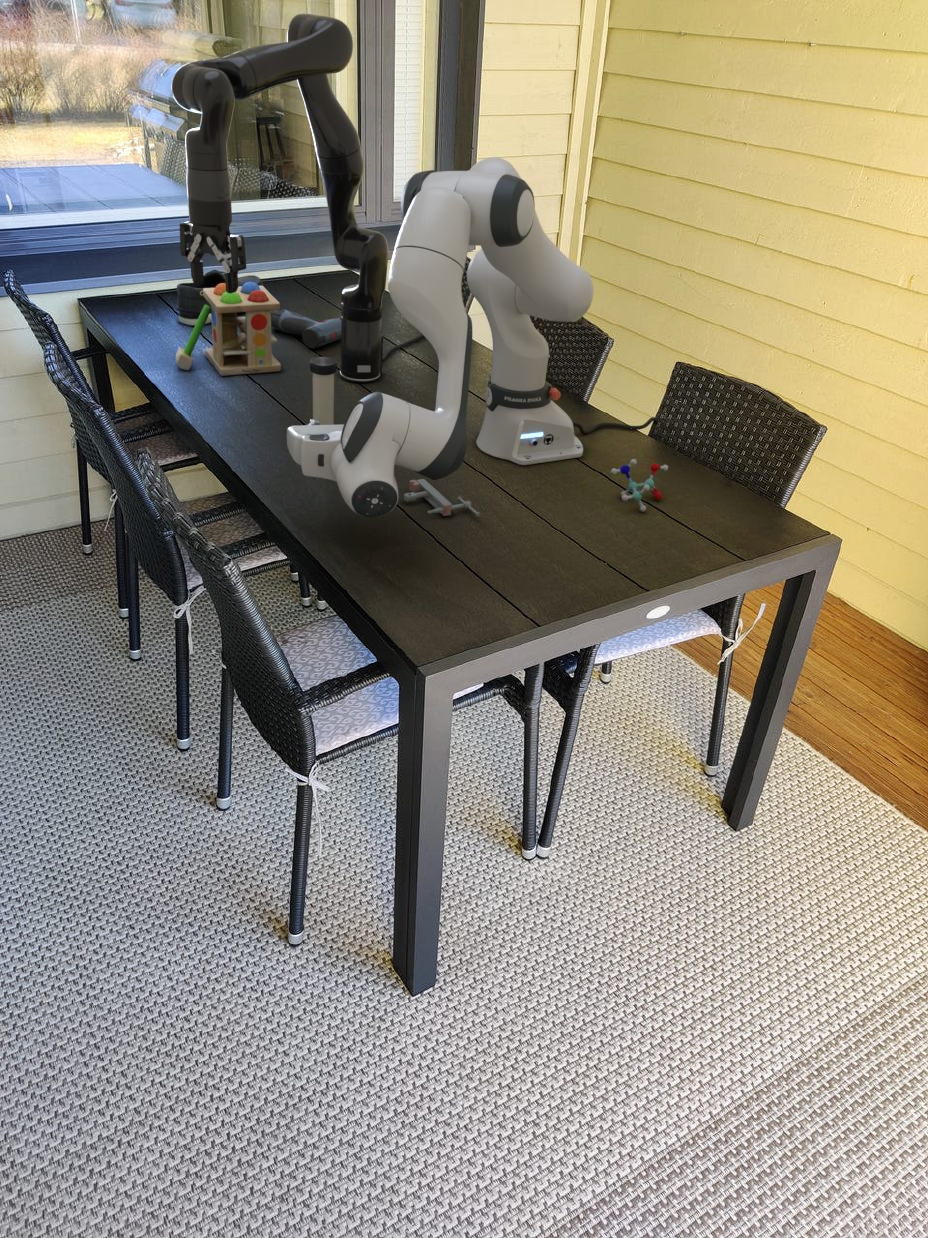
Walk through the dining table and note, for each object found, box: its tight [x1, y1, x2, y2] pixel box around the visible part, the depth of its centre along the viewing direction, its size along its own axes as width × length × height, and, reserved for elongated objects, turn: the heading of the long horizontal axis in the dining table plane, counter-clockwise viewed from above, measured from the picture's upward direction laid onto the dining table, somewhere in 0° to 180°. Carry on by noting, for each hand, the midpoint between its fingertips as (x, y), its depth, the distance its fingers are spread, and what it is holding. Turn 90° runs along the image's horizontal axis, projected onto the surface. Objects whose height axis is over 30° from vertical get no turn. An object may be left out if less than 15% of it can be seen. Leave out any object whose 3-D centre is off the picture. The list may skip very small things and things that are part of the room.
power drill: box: [271, 308, 341, 349], centre depth 252 cm, size 5×19×20 cm
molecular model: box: [610, 458, 669, 513], centre depth 187 cm, size 12×10×10 cm
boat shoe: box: [175, 269, 265, 326], centre depth 261 cm, size 13×33×10 cm, turn 147°
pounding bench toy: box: [174, 282, 282, 377], centre depth 225 cm, size 23×14×18 cm, turn 116°
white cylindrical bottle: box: [311, 372, 335, 425], centre depth 190 cm, size 4×4×19 cm
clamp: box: [403, 478, 481, 518], centre depth 180 cm, size 15×2×10 cm
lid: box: [309, 356, 338, 375], centre depth 185 cm, size 5×5×2 cm
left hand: (214, 287), depth 183 cm, fingers open, 8 cm apart
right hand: (341, 422), depth 170 cm, fingers open, 8 cm apart
